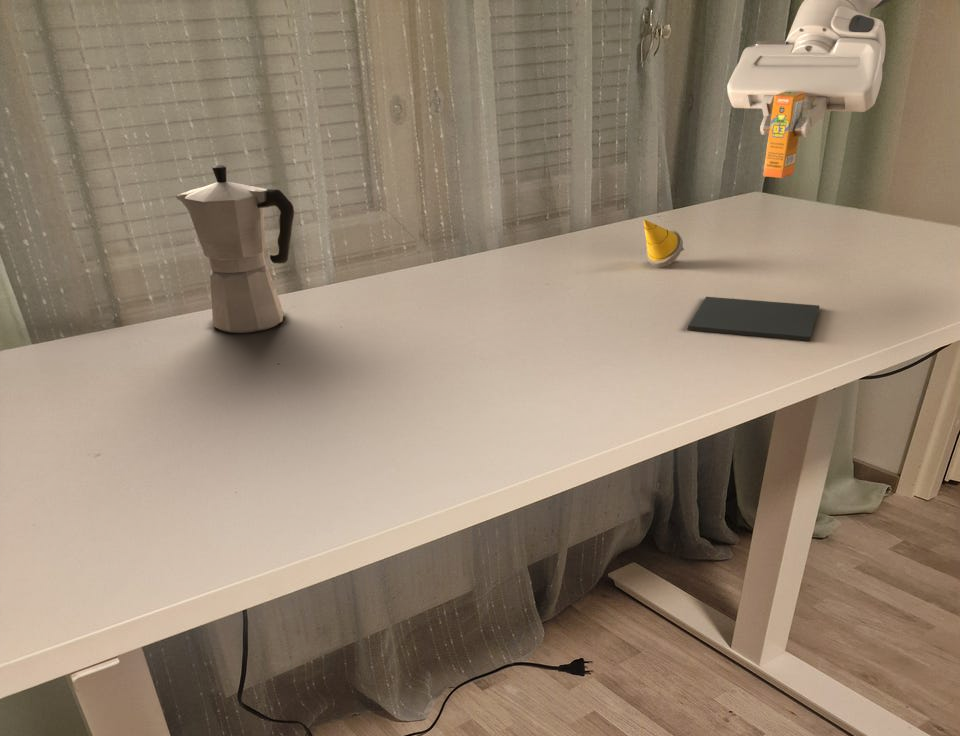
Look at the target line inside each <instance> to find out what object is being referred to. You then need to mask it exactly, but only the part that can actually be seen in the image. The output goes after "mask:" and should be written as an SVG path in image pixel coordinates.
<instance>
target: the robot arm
mask: <svg viewBox="0 0 960 736" xmlns="http://www.w3.org/2000/svg"><path fill="white" fill-rule="evenodd" d="M892 1H894V0H803V1H802V3H801V4H800V6H799V8H798V10H797V12H796V15H795V18H794V20H793V22H792V25H791V27H790V30H789V32H788V34H787V36H786V39H776V40H763V39H762V40H757V41H756V42H755V43H753V44H751V45H749V46H747V47H745V48H744V50H743V51H742V53H741V56H740V58H739V61H738V63H737V64H736V66H735V68H734V70H733V72H732V74H731V76H730V78H729V80H728V83H727V86H726V92H727V97H728V100H729V102H730V104H731V106H732V108H734V109H754V110H757V109H758V110H762V115H763V116H762V117H763V118H762V120H761V123H760V126H759V131H760V135H762V136H769V130H770V123H771V116H772V109H773V101H774V95H777V94H779V93H783V92H799V93H805V99H804V106H803V111H809V112H808V113H807V114H806V115H805V116H802V117H799V119H798V121H797V124H796V126H795V133H796V134H795V136H798V137H799V138H807V137H808V135H809V132H810V130H811V127H813V126H814V125H816V124H817V123H818V122H819V121H820V120H821V119H822V118H823V117H825V115H826V112H849V113H851V112H853V113H865V112H867V111H868V110H870V109H871V108H872V107H874V105H875V104H876V101H877V99H878V96H879V92H880V89H881V85H882V81H883V64H884V62H885V61H884V60H885V56H886V49H887V48H886V47H887V45H886V42H887V40H886V30H885V26H884V24H885V23H884V21H882V20H881V19H879V18H875V17H873V16H869V15H867V14H866V13H867V11H868V10H869V9H871V10H875V9H878V8H881V7H883V6H885V5H886V4H889V3H890V2H892Z"/></svg>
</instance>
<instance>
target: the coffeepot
mask: <svg viewBox="0 0 960 736" xmlns="http://www.w3.org/2000/svg"><path fill="white" fill-rule="evenodd" d="M211 169H212V171H213V174H214V177H215V179H216V182H214V183H213V182H212V183H211V184H208V185H205V186H202V187H198V188H194V189H190V190H187V191H183V192H182V193H179V194H176V196H175V198H176V200H178V201H180V202H181V203H182V204H183V206H184V207H185V209H187V211H188V214H189V216H190V219H191V221H192V224H193V227H194V230H195V233H196V235H197V238H198V241H199V243H200V247H201V249H202V252H203V255H204V256H205V257H207V258H208V260H209V266H210V270H211V271H210V273H209V277H210V297H211V312H212V313H211V315H212V326H213V327H214V328H216V329H218V330H219V331H221V332H224V333H225V332H226V333H234V334H235V333H237V334H242V333H243V334H244V333H245V334H246V333H254V332H259V331H265V330H268V329H271V328H274V327H276V326H278V325H279V324H281V323H282V322H283V319H284V310H283V309H284V308H283V306H282V303H281V301H280V297H279V295H278V291H277V289H276V286H275V283H274V280H273V276H272V274H271V270H270V268H269V266H268V265H267V264H266V260H265V254H264V252H265V249H266V231H265V210H264V209H265V208H270V207H276V208H277V209H278V211H279V212H280V213H279V216H278V226H279V228H278V229H279V231H278V236H277V248H278V253H277V254H270V255H269V259H270V261H271V262H272V263H273V264H278V265H279V264H285V263H287V262H288V261H289V253H290V244H291V237H292V229H293V222H294V217H295V210H294V205H293V203H292V202H291V201H290V199H289V198H288V197H287V196H286V194H285V193H284V192H282V190H280V189H279V188H263V187H259V186H254V185H247V184H242V183H237V182H232V181H228V179H227V165H224V164H220V163H219V164H215V165H214V166H212V167H211Z"/></svg>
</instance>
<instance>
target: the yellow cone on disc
mask: <svg viewBox="0 0 960 736" xmlns="http://www.w3.org/2000/svg"><path fill="white" fill-rule="evenodd" d="M643 226H644V227H643V228H644V234H645V241H646V248H645V252H644V253H645V258H646V260H647V262H649V264H650V265H651V266H652V267H655V268H664V267H667V266H669V265H670V264H672V263H673V262H675V260H677V259H678V257H679V256H680V254H681V253H682V252H683V251H684V250H685V248H684V241H683V238H682V236H681V235H680V233H679V232H678V231H677V230H675V229H671V228H670V229H669V228H668V229H667V228H665V227H662V226H660V225H657V224H656V223H654V222H651V221H649V220H647V219H643Z"/></svg>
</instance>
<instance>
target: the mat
mask: <svg viewBox="0 0 960 736" xmlns="http://www.w3.org/2000/svg"><path fill="white" fill-rule="evenodd" d="M819 310H820V305H819V304H806V303H805V304H804V303H793V302H780V301H765V300H754V299H741V298H729V297H728V298H727V297H717V296H705V298H704V299H703V300H702V303H701V304H700V305H699V307H698V309H697V310H696V312H695V314H694V315H693V317H692V319H691V320H690V322H689V323H688V325H687V331H696V332H706V333H715V334H728V335H738V336H751V337H761V338H770V339H771V338H773V339H783V340H793V341H805V342H810V341H811V338H812V335H813V331H814V327H815V324H816V321H817V318H818V314H819Z"/></svg>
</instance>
